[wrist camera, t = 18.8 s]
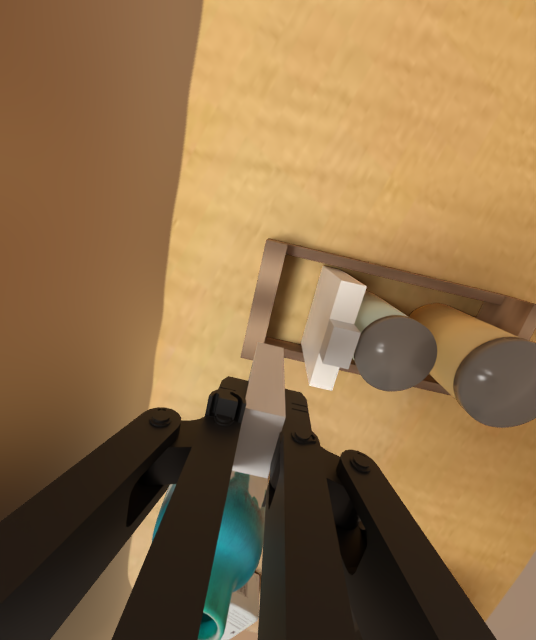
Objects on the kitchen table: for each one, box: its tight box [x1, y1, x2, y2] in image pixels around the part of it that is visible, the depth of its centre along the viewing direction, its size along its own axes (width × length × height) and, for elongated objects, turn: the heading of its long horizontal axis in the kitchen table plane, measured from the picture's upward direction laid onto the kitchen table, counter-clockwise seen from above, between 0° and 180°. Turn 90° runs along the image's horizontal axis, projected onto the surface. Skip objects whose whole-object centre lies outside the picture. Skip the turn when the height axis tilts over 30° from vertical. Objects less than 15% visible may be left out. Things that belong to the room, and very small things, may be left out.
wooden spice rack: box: [241, 239, 536, 396], centre depth 30 cm, size 12×26×6 cm, turn 77°
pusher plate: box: [301, 266, 367, 391], centre depth 27 cm, size 9×2×12 cm, turn 167°
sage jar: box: [352, 291, 437, 391], centre depth 28 cm, size 6×6×11 cm
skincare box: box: [221, 573, 260, 640], centre depth 45 cm, size 8×6×15 cm
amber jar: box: [408, 303, 536, 428], centre depth 28 cm, size 7×7×12 cm
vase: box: [152, 471, 268, 640], centre depth 30 cm, size 11×11×19 cm
